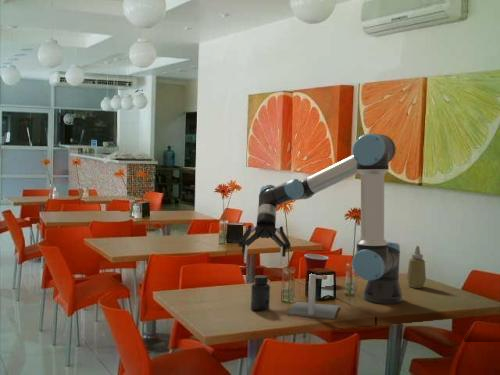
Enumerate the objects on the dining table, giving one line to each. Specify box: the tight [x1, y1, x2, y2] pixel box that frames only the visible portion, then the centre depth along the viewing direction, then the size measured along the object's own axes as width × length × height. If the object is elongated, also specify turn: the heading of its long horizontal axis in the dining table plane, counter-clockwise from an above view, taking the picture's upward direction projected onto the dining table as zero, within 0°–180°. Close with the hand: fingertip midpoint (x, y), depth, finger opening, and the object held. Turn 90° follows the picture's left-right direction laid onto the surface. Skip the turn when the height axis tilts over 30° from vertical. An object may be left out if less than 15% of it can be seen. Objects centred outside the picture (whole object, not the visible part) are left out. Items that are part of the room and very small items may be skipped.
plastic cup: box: [304, 253, 329, 270], centre depth 265 cm, size 11×11×12 cm
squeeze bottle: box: [406, 245, 427, 289], centre depth 261 cm, size 8×8×18 cm
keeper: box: [287, 273, 340, 320], centre depth 216 cm, size 16×16×15 cm
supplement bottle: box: [250, 274, 271, 313], centre depth 216 cm, size 7×7×12 cm
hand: (262, 262), depth 226 cm, fingers open, 13 cm apart
